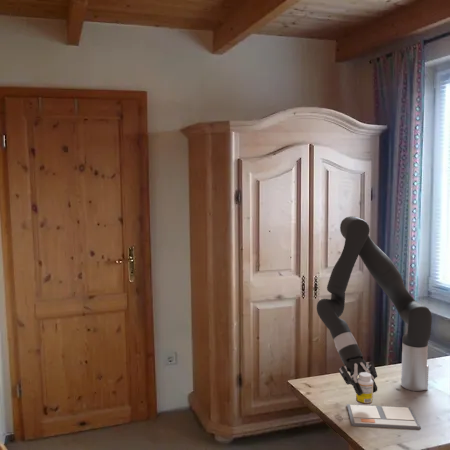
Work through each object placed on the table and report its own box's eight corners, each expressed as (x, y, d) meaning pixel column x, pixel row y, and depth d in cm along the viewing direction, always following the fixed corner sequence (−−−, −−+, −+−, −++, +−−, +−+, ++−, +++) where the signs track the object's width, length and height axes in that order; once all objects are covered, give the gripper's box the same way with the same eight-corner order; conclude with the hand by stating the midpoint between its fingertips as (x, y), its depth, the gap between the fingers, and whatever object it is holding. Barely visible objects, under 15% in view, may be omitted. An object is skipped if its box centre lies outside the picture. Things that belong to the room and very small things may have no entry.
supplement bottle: (360, 397, 178) (361, 369, 177) (375, 402, 175) (376, 373, 174) (353, 403, 174) (354, 374, 173) (368, 407, 170) (369, 378, 169)
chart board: (410, 409, 178) (410, 406, 178) (420, 429, 164) (420, 425, 164) (346, 406, 181) (346, 403, 181) (351, 425, 167) (351, 422, 167)
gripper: (335, 345, 176) (356, 392, 167) (368, 340, 182) (390, 385, 172) (326, 355, 182) (345, 401, 172) (358, 350, 187) (379, 393, 178)
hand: (368, 392), depth 172 cm, fingers closed on supplement bottle, 5 cm apart
